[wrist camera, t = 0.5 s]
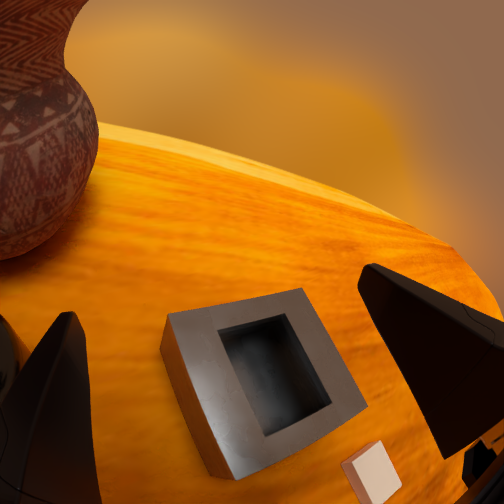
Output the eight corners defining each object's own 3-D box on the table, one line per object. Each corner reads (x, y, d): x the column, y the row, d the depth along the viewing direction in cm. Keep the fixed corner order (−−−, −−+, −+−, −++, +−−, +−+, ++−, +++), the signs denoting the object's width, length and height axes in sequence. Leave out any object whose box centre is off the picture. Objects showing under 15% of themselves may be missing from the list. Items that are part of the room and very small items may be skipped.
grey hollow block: (323, 423, 21) (368, 406, 17) (210, 476, 16) (236, 480, 12) (271, 322, 27) (301, 287, 23) (159, 348, 21) (167, 313, 17)
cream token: (387, 486, 18) (402, 484, 17) (361, 509, 16) (375, 509, 15) (366, 444, 21) (380, 440, 20) (337, 464, 19) (351, 462, 18)
